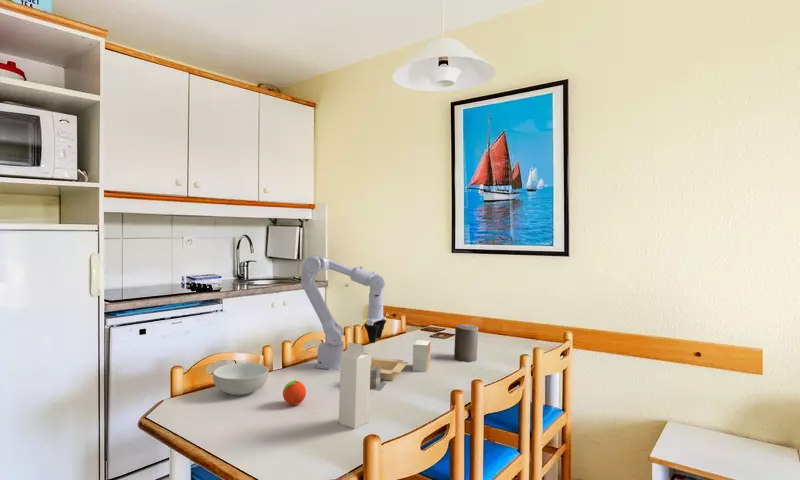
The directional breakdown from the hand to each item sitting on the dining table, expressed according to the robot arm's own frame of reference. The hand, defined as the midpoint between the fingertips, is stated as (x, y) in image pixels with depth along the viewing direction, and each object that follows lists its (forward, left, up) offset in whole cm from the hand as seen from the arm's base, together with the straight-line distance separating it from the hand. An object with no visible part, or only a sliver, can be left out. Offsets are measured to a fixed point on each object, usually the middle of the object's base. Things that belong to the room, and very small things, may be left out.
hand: (375, 340), depth 183 cm
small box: (+18, +3, -11) cm, 21 cm away
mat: (+4, -22, -10) cm, 25 cm away
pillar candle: (+33, +24, -11) cm, 42 cm away
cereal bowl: (-33, -40, -11) cm, 53 cm away
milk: (+10, -52, -11) cm, 54 cm away
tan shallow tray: (+5, -8, -10) cm, 14 cm away
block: (+4, -22, -10) cm, 25 cm away
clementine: (-12, -45, -11) cm, 48 cm away
